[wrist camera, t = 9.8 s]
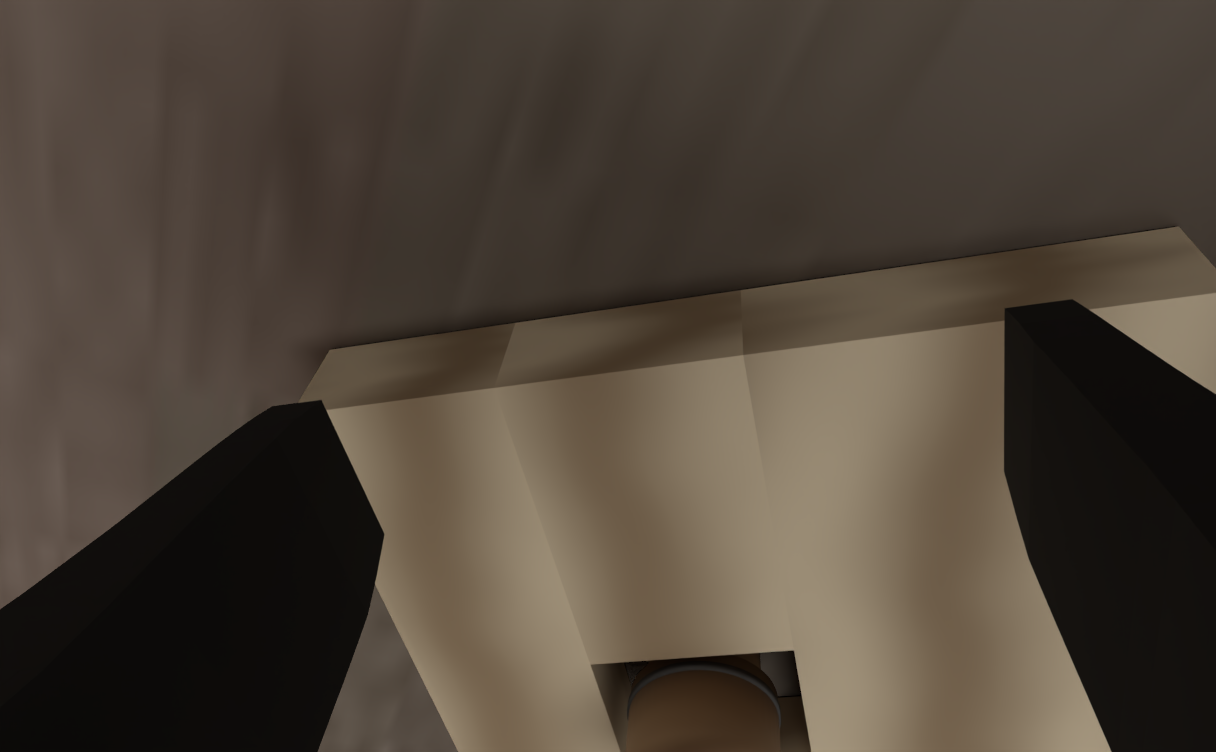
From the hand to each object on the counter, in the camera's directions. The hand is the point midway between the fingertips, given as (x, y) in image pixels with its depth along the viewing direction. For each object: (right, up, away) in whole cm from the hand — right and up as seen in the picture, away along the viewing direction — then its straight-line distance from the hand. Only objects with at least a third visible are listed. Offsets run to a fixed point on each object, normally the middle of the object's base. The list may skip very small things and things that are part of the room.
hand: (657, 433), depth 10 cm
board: (+4, -5, +15) cm, 16 cm away
